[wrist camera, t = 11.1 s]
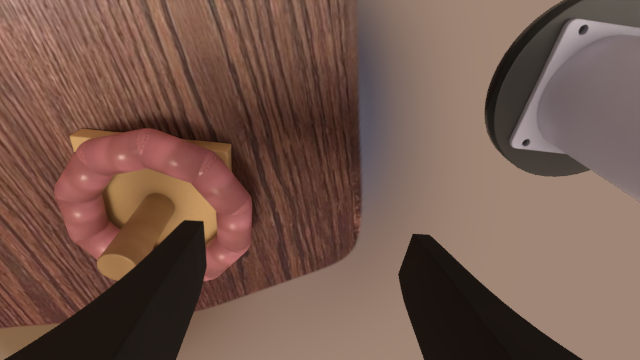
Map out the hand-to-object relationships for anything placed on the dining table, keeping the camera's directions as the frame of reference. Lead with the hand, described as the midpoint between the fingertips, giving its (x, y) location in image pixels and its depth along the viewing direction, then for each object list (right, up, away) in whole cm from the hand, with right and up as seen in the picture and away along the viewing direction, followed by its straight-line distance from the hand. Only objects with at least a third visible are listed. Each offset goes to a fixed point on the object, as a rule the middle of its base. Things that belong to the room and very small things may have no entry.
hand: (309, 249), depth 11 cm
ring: (-10, 0, +9) cm, 13 cm away
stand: (-10, +1, +11) cm, 15 cm away
